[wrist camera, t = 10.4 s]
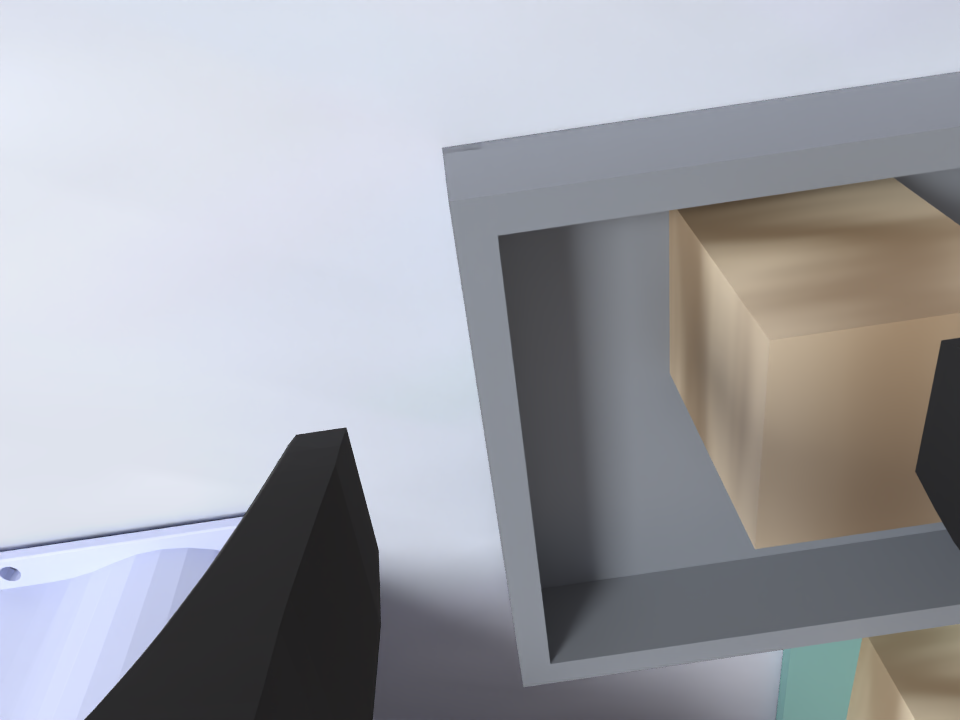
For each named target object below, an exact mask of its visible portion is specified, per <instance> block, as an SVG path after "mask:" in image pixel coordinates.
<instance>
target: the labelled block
mask: <svg viewBox="0 0 960 720" xmlns="http://www.w3.org/2000/svg"><path fill="white" fill-rule="evenodd" d="M846 720H960V624H955V625H949V626H942V627H935V628H928V629H921V630H914V631H907V632H901V633H894V634H887V635H880V636H873V637H866V638H862V642H861V647H860V652H859V657H858V662H857V667H856V672H855V677H854V682H853V687H852V692H851V697H850V702H849V707H848V713H847V718H846Z"/></svg>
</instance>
